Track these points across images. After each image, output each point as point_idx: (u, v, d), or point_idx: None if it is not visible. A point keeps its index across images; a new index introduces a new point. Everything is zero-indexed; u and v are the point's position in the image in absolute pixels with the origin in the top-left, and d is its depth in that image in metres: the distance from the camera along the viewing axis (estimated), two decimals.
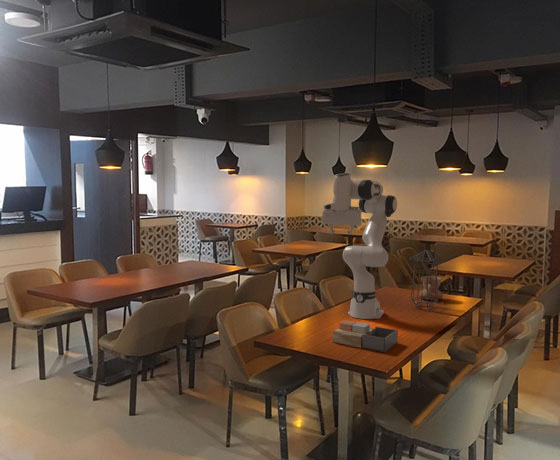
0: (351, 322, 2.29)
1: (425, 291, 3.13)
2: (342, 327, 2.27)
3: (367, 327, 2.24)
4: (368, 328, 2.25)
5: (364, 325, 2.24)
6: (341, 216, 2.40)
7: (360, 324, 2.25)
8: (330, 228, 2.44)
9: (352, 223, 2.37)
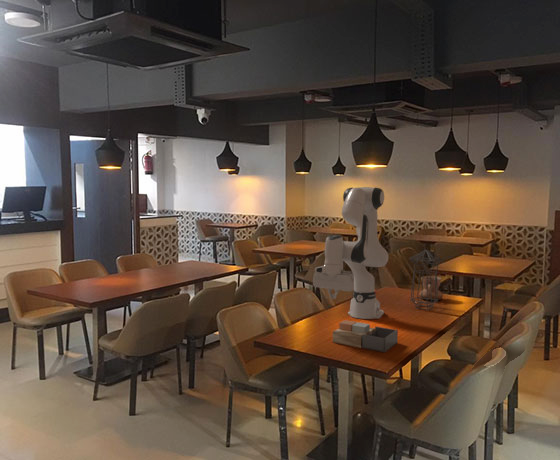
0: (351, 322, 2.29)
1: (425, 291, 3.13)
2: (342, 327, 2.27)
3: (367, 327, 2.24)
4: (368, 328, 2.25)
5: (364, 325, 2.24)
6: (333, 281, 2.29)
7: (360, 324, 2.25)
8: (329, 293, 2.32)
9: (344, 288, 2.26)
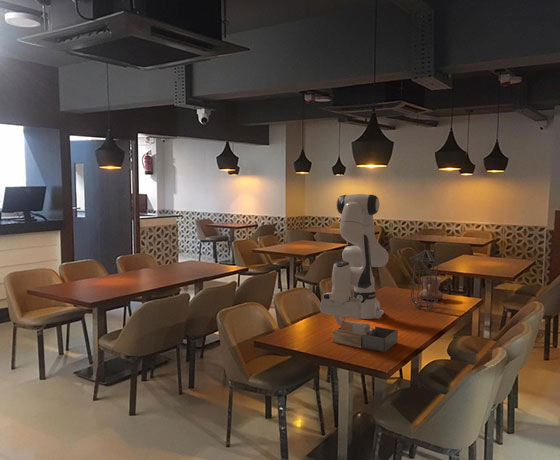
0: (352, 322, 2.28)
1: (425, 291, 3.13)
2: (343, 327, 2.26)
3: (367, 327, 2.24)
4: (368, 328, 2.25)
5: (364, 325, 2.24)
6: (341, 308, 2.28)
7: (360, 324, 2.25)
8: (336, 319, 2.30)
9: (351, 315, 2.25)
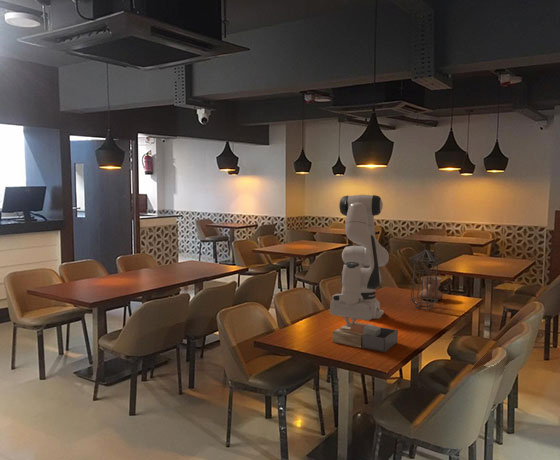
0: (363, 324, 2.25)
1: (425, 291, 3.13)
2: (354, 329, 2.24)
3: (378, 331, 2.21)
4: (379, 332, 2.22)
5: (375, 328, 2.21)
6: (351, 309, 2.25)
7: (371, 326, 2.22)
8: (346, 321, 2.28)
9: (361, 317, 2.22)
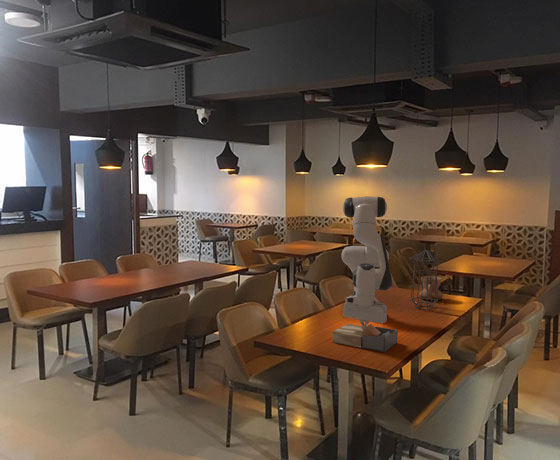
0: (376, 331, 2.21)
1: (425, 291, 3.13)
2: (366, 332, 2.20)
3: None
4: None
5: None
6: (365, 312, 2.21)
7: None
8: (361, 324, 2.23)
9: (376, 320, 2.18)
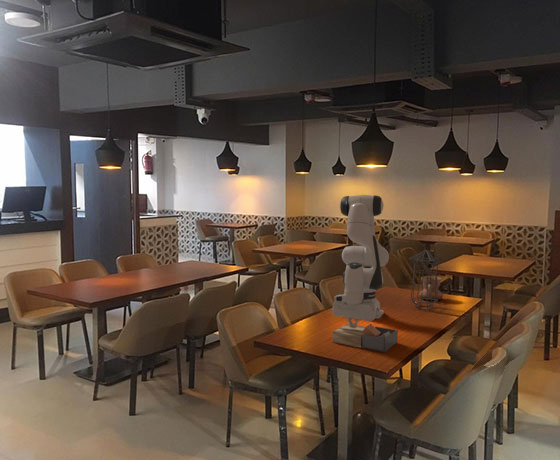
0: (376, 331, 2.21)
1: (425, 291, 3.13)
2: (366, 332, 2.20)
3: None
4: None
5: None
6: (353, 310, 2.25)
7: None
8: (349, 322, 2.27)
9: (364, 318, 2.22)
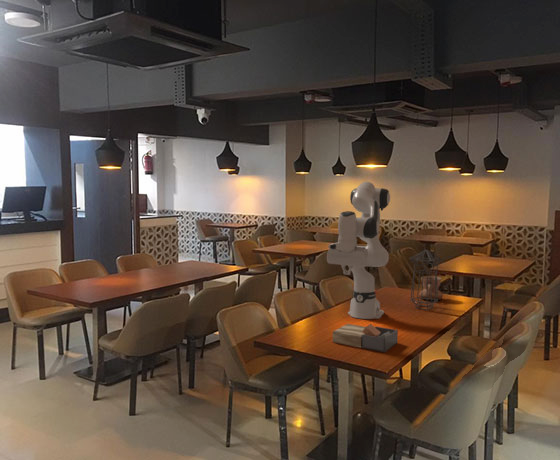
0: (376, 331, 2.21)
1: (425, 291, 3.13)
2: (366, 332, 2.20)
3: None
4: None
5: None
6: (347, 257, 2.32)
7: None
8: (343, 269, 2.34)
9: (358, 264, 2.29)
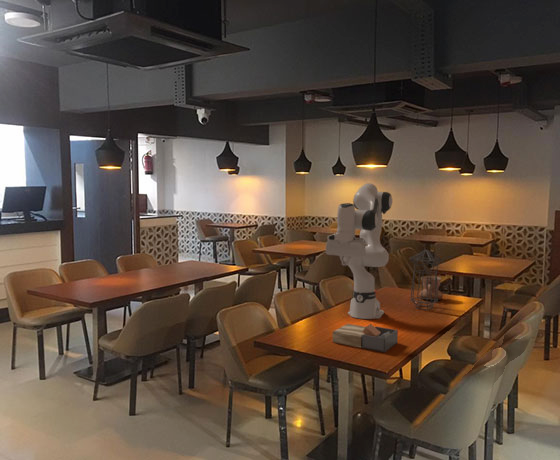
0: (376, 331, 2.21)
1: (425, 291, 3.13)
2: (366, 332, 2.20)
3: None
4: None
5: None
6: (345, 248, 2.36)
7: None
8: (341, 260, 2.38)
9: (356, 254, 2.33)
